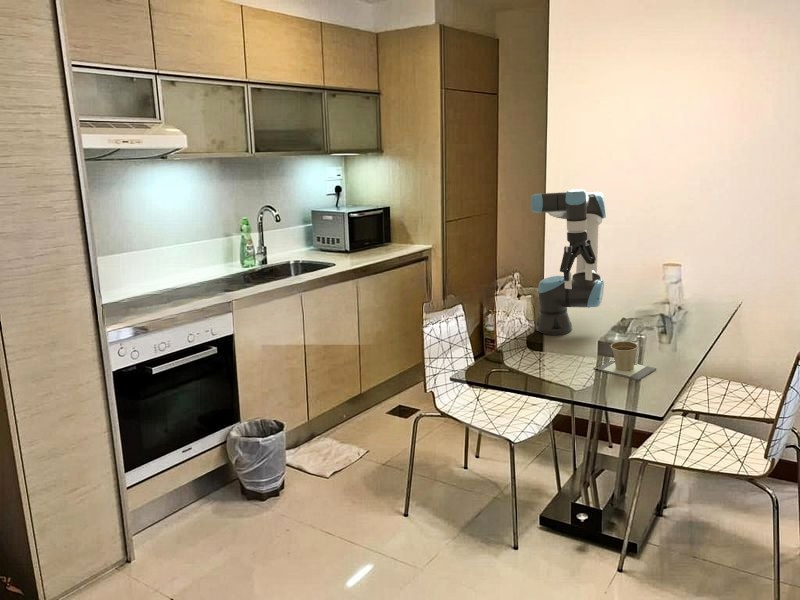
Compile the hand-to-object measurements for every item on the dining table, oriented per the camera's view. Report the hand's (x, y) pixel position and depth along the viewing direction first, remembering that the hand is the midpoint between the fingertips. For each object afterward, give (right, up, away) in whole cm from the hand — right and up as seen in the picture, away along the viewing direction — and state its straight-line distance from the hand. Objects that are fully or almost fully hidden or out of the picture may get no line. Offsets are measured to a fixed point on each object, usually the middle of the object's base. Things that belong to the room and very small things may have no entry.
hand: (578, 284), depth 258 cm
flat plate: (+12, -31, -17) cm, 38 cm away
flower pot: (+12, -31, -17) cm, 37 cm away
